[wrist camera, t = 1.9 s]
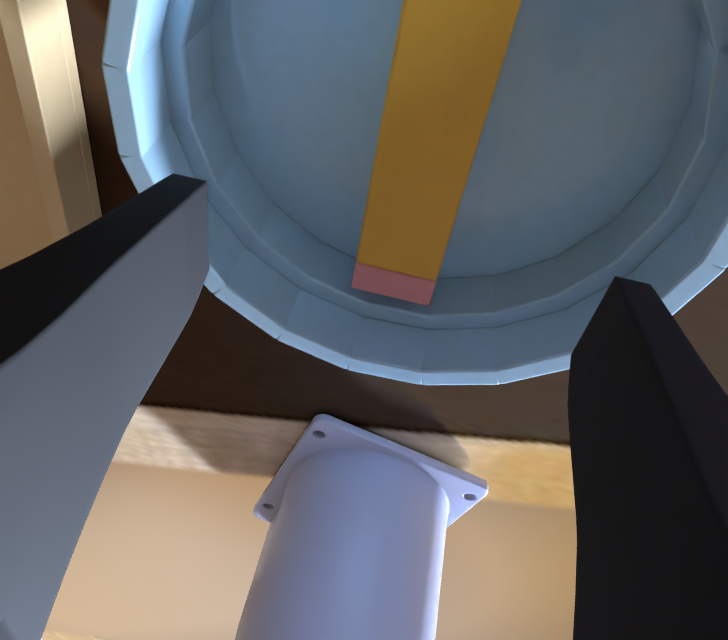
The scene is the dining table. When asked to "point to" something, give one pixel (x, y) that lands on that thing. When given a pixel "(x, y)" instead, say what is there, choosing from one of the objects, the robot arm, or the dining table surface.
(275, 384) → the dining table surface
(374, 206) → the pencil
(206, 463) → the dining table surface
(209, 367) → the dining table surface
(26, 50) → the pen tray
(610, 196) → the bowl
